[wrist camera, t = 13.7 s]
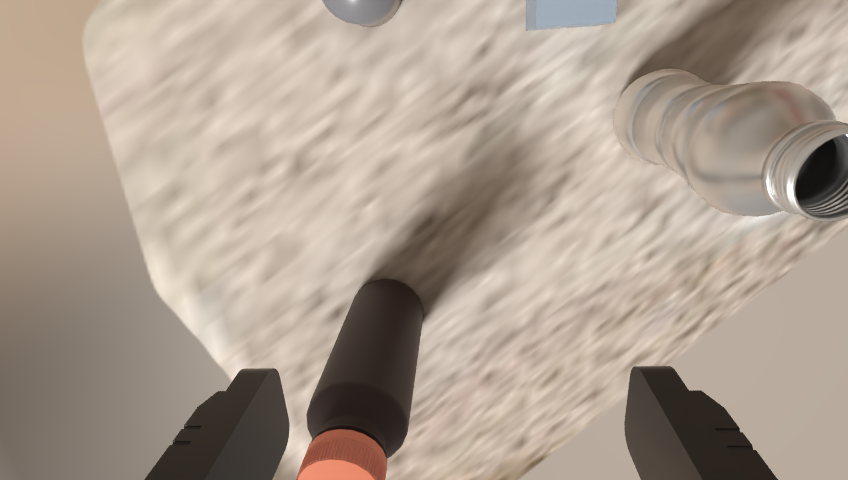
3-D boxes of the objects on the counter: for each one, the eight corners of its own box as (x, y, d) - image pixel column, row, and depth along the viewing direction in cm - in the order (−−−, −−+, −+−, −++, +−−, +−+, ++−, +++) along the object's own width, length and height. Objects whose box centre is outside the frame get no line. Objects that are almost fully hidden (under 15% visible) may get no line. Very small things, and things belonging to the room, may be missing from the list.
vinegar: (371, 265, 43) (306, 425, 25) (436, 298, 44) (420, 478, 25) (341, 320, 46) (261, 504, 27) (403, 351, 46) (366, 549, 28)
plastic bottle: (705, 73, 35) (976, 98, 17) (675, 162, 38) (881, 267, 19) (619, 61, 35) (795, 71, 17) (595, 150, 38) (724, 244, 19)
